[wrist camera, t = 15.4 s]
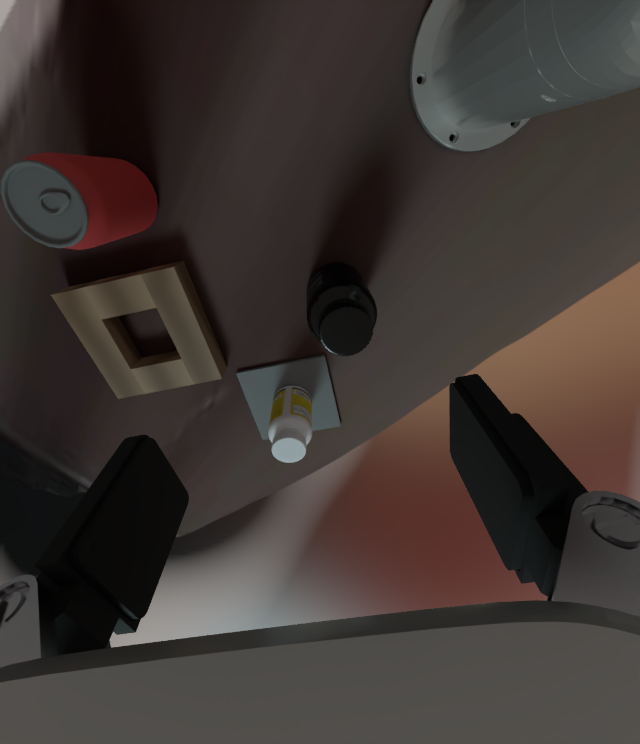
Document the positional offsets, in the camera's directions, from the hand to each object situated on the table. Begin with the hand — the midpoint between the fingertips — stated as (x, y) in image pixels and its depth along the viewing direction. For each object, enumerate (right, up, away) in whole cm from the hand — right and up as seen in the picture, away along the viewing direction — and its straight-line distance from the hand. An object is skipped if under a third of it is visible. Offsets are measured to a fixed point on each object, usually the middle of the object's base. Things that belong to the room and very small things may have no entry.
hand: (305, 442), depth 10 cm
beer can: (-19, +20, +23) cm, 36 cm away
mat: (-4, -2, +36) cm, 36 cm away
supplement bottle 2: (+2, +12, +29) cm, 31 cm away
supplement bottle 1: (-3, -2, +36) cm, 36 cm away
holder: (-20, +7, +30) cm, 37 cm away
